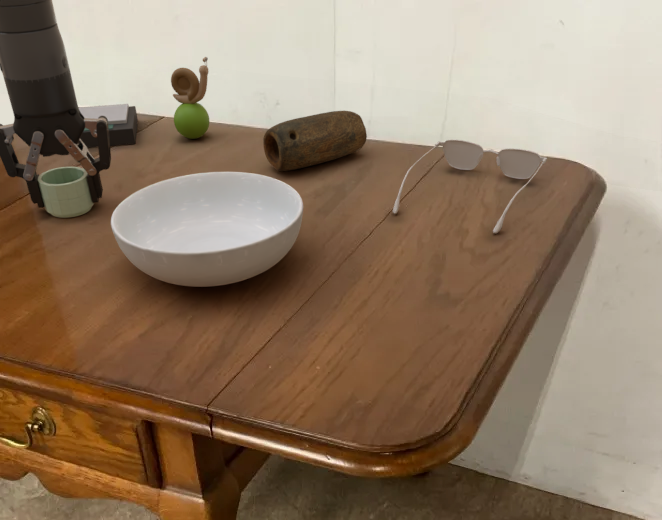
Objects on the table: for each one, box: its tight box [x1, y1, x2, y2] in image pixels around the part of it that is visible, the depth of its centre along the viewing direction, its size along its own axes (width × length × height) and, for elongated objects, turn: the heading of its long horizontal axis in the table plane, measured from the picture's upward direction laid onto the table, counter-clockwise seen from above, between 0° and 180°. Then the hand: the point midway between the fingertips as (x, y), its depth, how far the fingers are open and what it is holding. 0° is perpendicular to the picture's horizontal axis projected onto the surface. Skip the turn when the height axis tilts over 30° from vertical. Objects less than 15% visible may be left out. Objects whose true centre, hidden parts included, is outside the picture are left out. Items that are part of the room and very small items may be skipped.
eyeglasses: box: [392, 139, 548, 235], centre depth 100 cm, size 15×18×4 cm
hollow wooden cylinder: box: [262, 110, 368, 172], centre depth 110 cm, size 15×7×7 cm, turn 130°
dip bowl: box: [37, 165, 95, 219], centre depth 100 cm, size 6×6×4 cm
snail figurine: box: [170, 56, 210, 140], centre depth 117 cm, size 5×6×12 cm
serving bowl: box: [110, 171, 304, 288], centre depth 86 cm, size 21×21×7 cm
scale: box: [77, 103, 139, 149], centre depth 122 cm, size 13×11×3 cm
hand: (69, 202), depth 100 cm, fingers closed on dip bowl, 6 cm apart
